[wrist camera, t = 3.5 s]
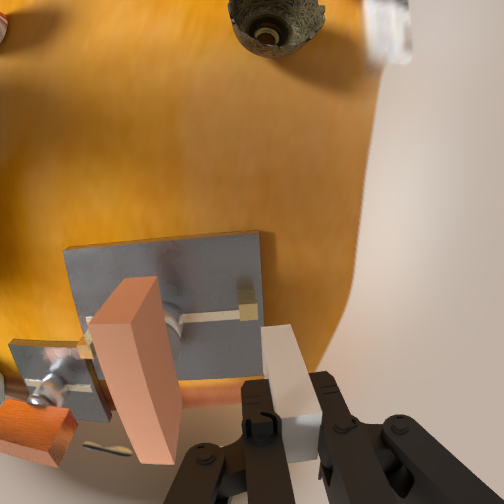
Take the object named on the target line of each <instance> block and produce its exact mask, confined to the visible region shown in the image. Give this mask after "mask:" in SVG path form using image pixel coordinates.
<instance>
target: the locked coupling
mask: <svg viewBox="0 0 504 504" xmlns="http://www.w3.org/2000/svg"><path fill="white" fill-rule="evenodd" d="M77 344H78V342H67V341H39V340H21V339H13V340H12V341H11V342H10V343H9V344H8V346H9V348H10V351H11V353H12V356H13V358H14V361H15V363H16V365H17V368H18V370H19V372H20V375H21V377H22V379H23V381H24V383H25V385H26V388H27V390H28V392H29V394H30V395H29V396H28V398H27V399H26V401H25V402H23V401H18V400H13V399H6V401H5V402H4V404H3V405H2V406H1V408H0V452H2V453H5V454H9V455H12V456H15V457H18V458H22V459H25V460H29V461H32V462H36V463H40V464H44V465H48V466H52V467H56V468H59V466H60V464H61V461H62V459H63V456H64V454H65V452H66V450H67V447H68V445H69V443H70V441H71V439H72V437H73V434H74V432H75V430H76V428H77V426H78V424H77V422H76V420H75V419H79V420H88V421H98V422H110V420H111V417H112V414H111V411H110V409H109V407H108V404H107V402H106V399H105V397H104V394H103V392H102V389H101V386H100V384H99V381H98V378H97V376H96V373H95V370H94V367H93V364H92V361H91V359H81V358H80V355H79V352H78V349H77V346H76V345H77Z"/></svg>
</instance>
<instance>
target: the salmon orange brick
mask: <svg viewBox="0 0 504 504" xmlns="http://www.w3.org/2000/svg"><path fill="white" fill-rule="evenodd" d="M88 327H89V331H90V334H91V337H92V341H93V344H94V347H95V350H96V354H97V357H98V360H99V363H100V366H101V369H102V372H103V374H104V377H105V380H106V383H107V386H108V388H109V391H110V394H111V396H112V399H113V401H114V404H115V406H116V409H117V411H118V414H119V416H120V418H121V421H122V423H123V426H124V428H125V430H126V432H127V435H128V437H129V439H130V441H131V444H132V446H133V448H134V450H135V452H136V454H137V456H138V458H139V460H140V462H141V463H147V464H169V465H171V464H172V465H174V464H175V456H176V448H177V441H178V433H179V426H180V419H181V412H182V405H183V400H182V396H181V392H180V388H179V384H178V379H177V375H176V371H175V366H174V362H175V361H176V359H177V358H178V356H179V352H180V347H181V340H180V337H179V334H178V333H177V331H176V330H175V329H174V328H173V327H172V326H171V325H169V324H168V323H166V322H165V317H164V312H163V306H162V301H161V295H160V289H159V283H158V277H157V276H148V277H134V278H124V279H123V281H122V282H121V283H120V284H119V285H118V287H117V288H116V289H115V290H114V292H113V293H112V294H111V295H110V297H109V298H108V299H107V300H106V302H105V303H104V304H103V305H102V307H101V308H100V309H99V310H98V312H97V313H96V314H95V316H94V317H93V318H92V319H91V321H90V322H89V323H88Z"/></svg>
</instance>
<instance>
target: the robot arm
mask: <svg viewBox="0 0 504 504" xmlns="http://www.w3.org/2000/svg"><path fill="white" fill-rule="evenodd" d="M261 341H262V359H263V373H264V379H260V380H249V381H245V382H244V384H243V386H242V388H241V397H242V414H243V420H242V432H243V434H242V436H241V437H240V438H239V440H237V441H236V442H234V443H232V444H230V445H227V446H224V447H221V448H220V447H219V446H217V445H215V444H211V443H201V444H197V445H194V446H193V447H191V448H190V449H189V450H188V451H187V453H186V455H185V457H184V459H183V461H182V464H181V466H180V468H179V470H178V472H177V474H176V477H175V479H174V481H173V483H172V485H171V488H170V490H169V492H168V494H167V496H166V499H165V501H164V503H163V504H230V503H231V500H232V496H233V495H237V494H240V493H243V492H246V491H247V494H248V504H295V499H294V494H293V489H292V484H291V479H290V474H289V469H288V463H296V462H302V461H308V460H314V459H317V456H318V453H319V456H320V460H321V461H320V468H319V475H318V476H319V477H318V479H319V480H320V479H321V478H323V482H324V485H325V489H326V493H327V496H328V500H329V503H330V504H504V500H503V499H502V498H500V497H499V496H498V495H497V494H496V493H495V492H494V491H493V490H491V489H490V488H489V487H488V486H487V485H486V484H485V483H484V482H482V481H481V480H480V479H479V478H478V477H477V476H476V475H475V474H473V473H472V472H471V471H470V470H469V469H468V468H467V467H466V466H464V464H462V463H461V462H460V461H459V460H458V459H457V458H456V457H455V456H454V455H452V454H451V453H450V452H449V451H448V450H447V449H446V448H445V447H444V446H442V445H441V444H440V443H439V442H438V441H437V440H436V439H435V438H434V437H433V436H431V435H430V434H429V433H428V432H427V431H426V430H425V429H424V428H423V427H422V426H421V425H419V424H418V423H417V422H416V421H415V420H414V419H413V418H411V417H409V416H406V415H393V416H390V417H389V418H387V419H386V420H385V422H384V423H383V424H365V423H362V422H360V421H359V420H358V419H357V418H356V417H354V416H353V415H351V414H350V412H349V409H348V407H347V405H346V403H345V401H344V399H343V396H342V394H341V392H340V390H339V387H338V386H337V383H336V381H335V379H334V377H333V376H332V375H331V374H329V373H328V372H327V371H322V372H315V373H308V371H307V368H306V366H305V363H304V360H303V357H302V355H301V352H300V349H299V346H298V344H297V341H296V338H295V335H294V333H293V330H292V327H291V324H287V325H277V326H266V327H261Z"/></svg>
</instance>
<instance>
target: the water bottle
mask: <svg viewBox="0 0 504 504" xmlns="http://www.w3.org/2000/svg"><path fill="white" fill-rule="evenodd" d="M4 399H5V393H4V377H3V375H2V374H1V372H0V404H1V403H2V401H3V400H4Z"/></svg>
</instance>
